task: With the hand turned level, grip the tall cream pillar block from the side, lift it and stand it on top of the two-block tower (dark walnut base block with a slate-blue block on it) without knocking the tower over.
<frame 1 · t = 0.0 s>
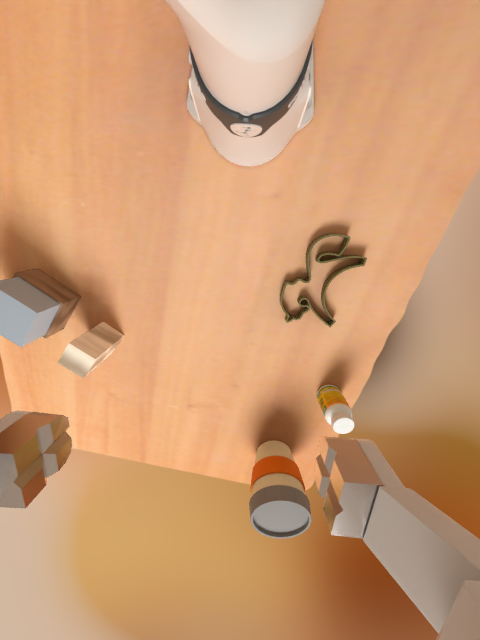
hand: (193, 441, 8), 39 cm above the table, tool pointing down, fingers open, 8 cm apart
slate-blue top block: (32, 307, 43), point 5 cm above the table, touching walnut base block
supplement bottle: (327, 392, 53), on the table
reusable coffee cup: (273, 452, 61), on the table
cream pillar block: (108, 336, 50), on the table
cookie cutter: (317, 281, 45), on the table
walnut base block: (52, 299, 48), on the table, touching slate-blue top block
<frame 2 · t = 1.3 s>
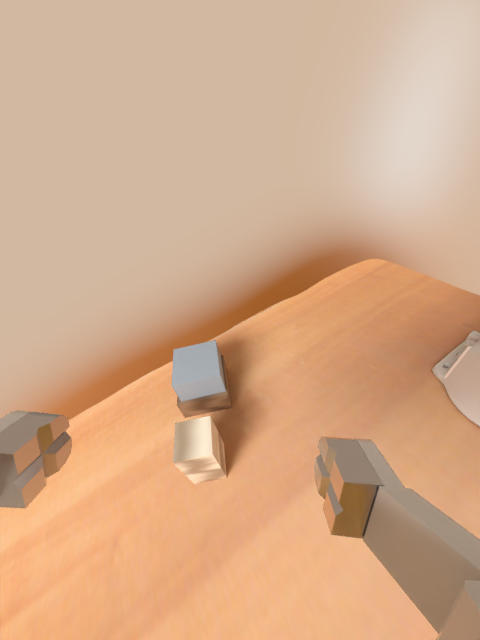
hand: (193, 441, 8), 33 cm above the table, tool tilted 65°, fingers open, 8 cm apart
slate-blue top block: (202, 377, 44), point 5 cm above the table, touching walnut base block
cream pillar block: (210, 462, 38), on the table
walnut base block: (207, 392, 48), on the table, touching slate-blue top block
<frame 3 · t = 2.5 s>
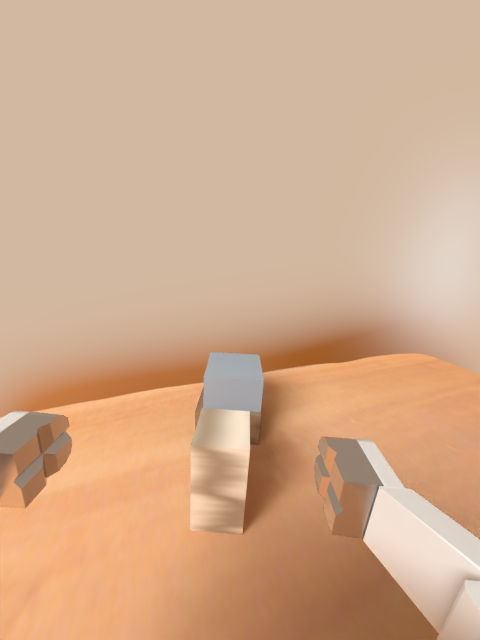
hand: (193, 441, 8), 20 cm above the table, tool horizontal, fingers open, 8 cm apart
slate-blue top block: (232, 393, 36), point 5 cm above the table, touching walnut base block
cream pillar block: (219, 505, 25), on the table
walnut base block: (229, 421, 38), on the table, touching slate-blue top block
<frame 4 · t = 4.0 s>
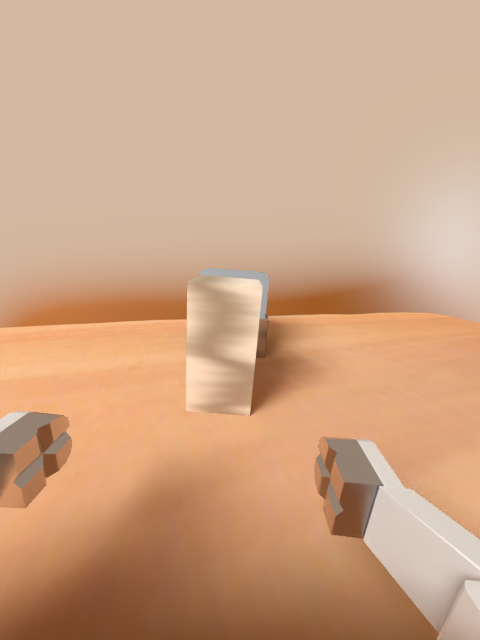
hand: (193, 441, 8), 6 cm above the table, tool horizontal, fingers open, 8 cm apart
slate-blue top block: (232, 309, 32), point 5 cm above the table, touching walnut base block
cream pillar block: (221, 394, 21), on the table
walnut base block: (230, 343, 33), on the table, touching slate-blue top block
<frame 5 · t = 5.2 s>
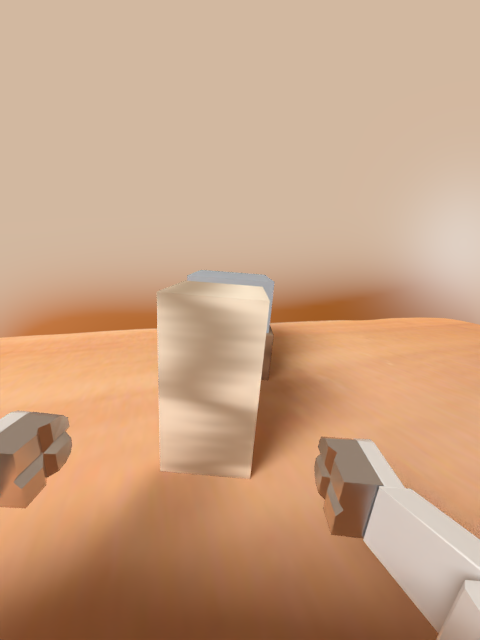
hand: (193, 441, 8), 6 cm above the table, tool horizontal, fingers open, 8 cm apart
slate-blue top block: (229, 319, 27), point 5 cm above the table, touching walnut base block
cream pillar block: (211, 440, 15), on the table
walnut base block: (227, 359, 28), on the table, touching slate-blue top block
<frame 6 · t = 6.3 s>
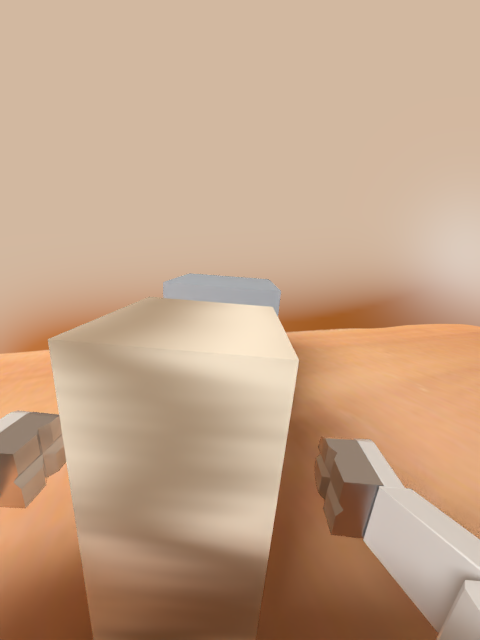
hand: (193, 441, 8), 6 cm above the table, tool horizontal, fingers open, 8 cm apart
slate-blue top block: (223, 336, 21), point 5 cm above the table, touching walnut base block
cream pillar block: (191, 550, 10), on the table
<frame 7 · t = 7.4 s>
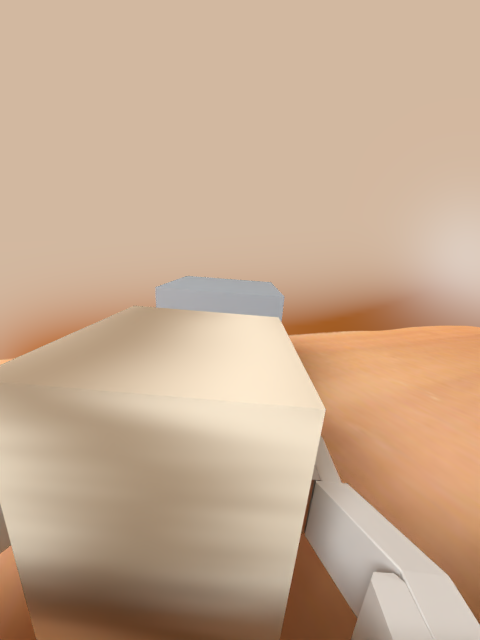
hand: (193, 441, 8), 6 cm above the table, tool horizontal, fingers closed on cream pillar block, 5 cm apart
slate-blue top block: (222, 343, 20), point 5 cm above the table, touching walnut base block
cream pillar block: (184, 600, 8), on the table, touching gripper
when the fingers open (18 cm above the table, at t = 15.3 s): cream pillar block drops 2 cm, point 10 cm above the table.
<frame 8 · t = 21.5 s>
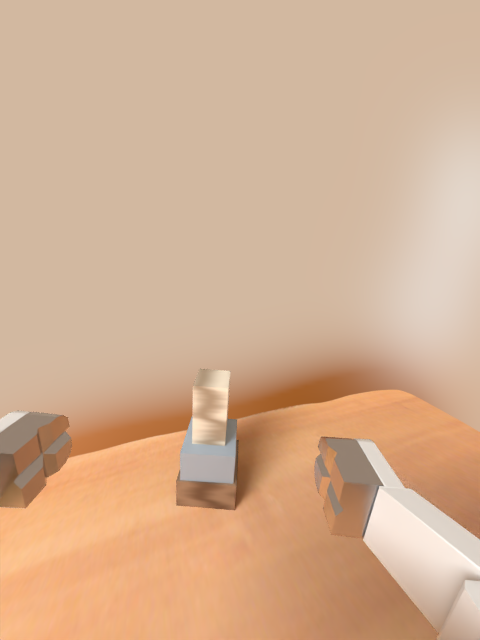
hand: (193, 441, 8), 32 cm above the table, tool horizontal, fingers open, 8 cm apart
slate-blue top block: (210, 459, 39), point 5 cm above the table, touching walnut base block
cream pillar block: (210, 432, 38), point 10 cm above the table
walnut base block: (209, 481, 41), on the table, touching slate-blue top block
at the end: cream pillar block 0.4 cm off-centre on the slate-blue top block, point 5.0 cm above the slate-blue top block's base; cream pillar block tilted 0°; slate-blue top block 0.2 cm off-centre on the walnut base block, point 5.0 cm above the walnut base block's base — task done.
